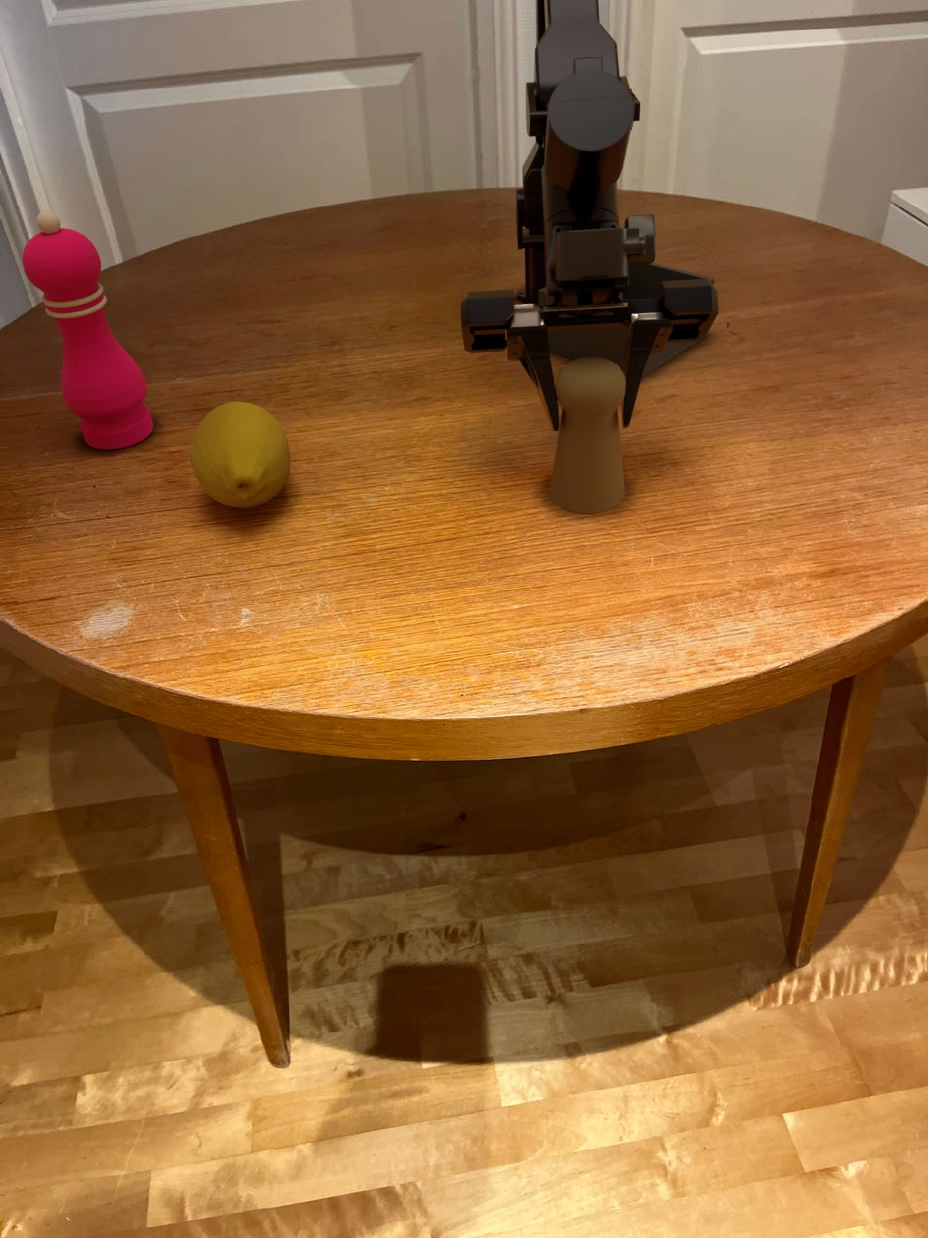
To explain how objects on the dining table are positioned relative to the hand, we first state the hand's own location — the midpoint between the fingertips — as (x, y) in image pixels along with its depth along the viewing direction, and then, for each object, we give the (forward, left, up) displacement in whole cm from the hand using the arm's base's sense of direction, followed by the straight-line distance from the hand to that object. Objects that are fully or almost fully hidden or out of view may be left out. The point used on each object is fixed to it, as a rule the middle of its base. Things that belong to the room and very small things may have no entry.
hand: (590, 428), depth 71 cm
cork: (-1, +1, -7) cm, 7 cm away
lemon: (-22, -17, -7) cm, 29 cm away
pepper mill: (-41, -18, -7) cm, 45 cm away
